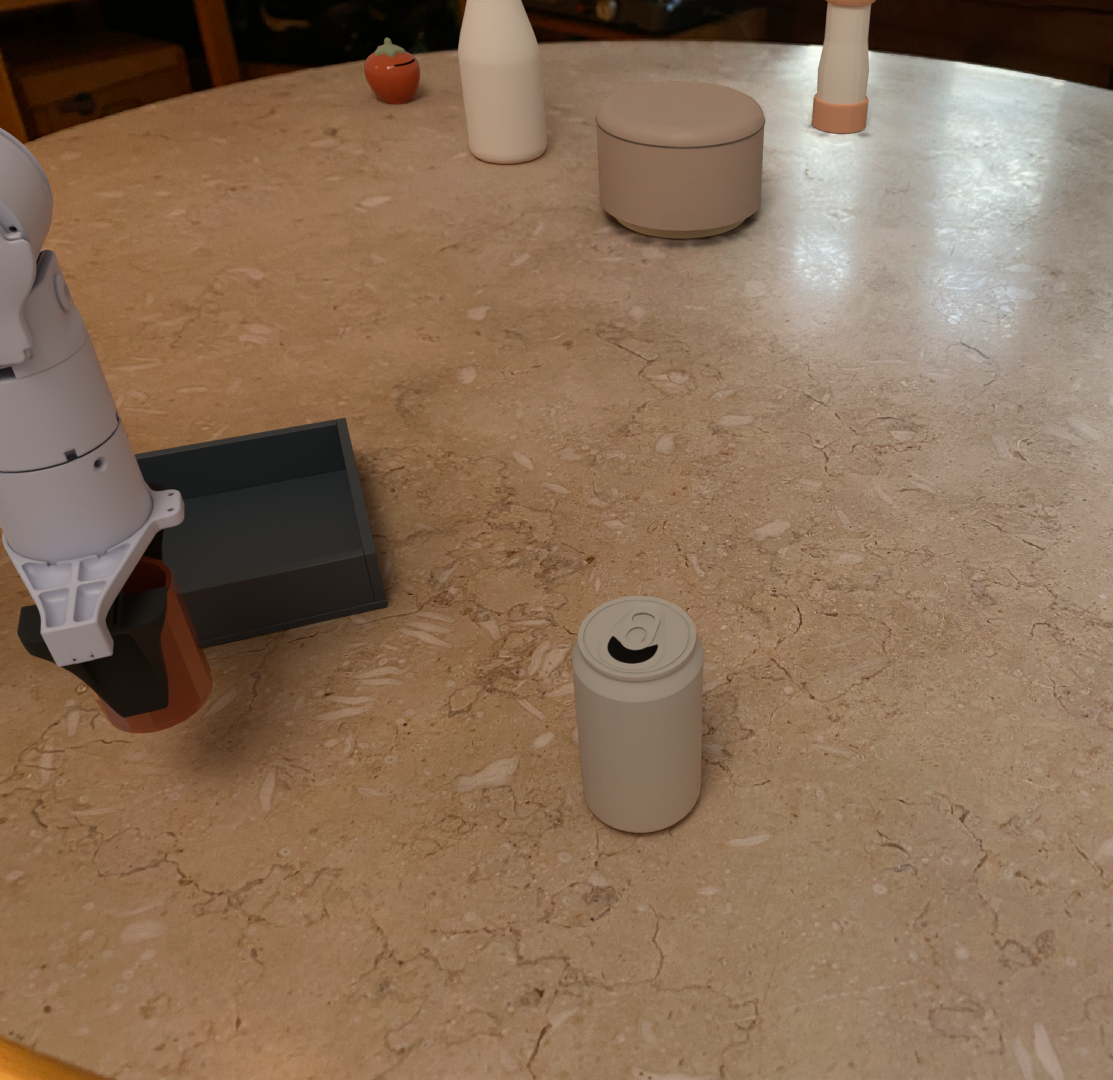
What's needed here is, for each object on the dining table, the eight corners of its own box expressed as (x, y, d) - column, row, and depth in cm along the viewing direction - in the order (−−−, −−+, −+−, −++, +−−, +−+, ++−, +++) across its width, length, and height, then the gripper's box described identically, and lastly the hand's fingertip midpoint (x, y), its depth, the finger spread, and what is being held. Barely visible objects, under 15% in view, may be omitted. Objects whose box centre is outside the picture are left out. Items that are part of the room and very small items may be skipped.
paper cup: (101, 746, 52) (47, 640, 47) (107, 672, 55) (57, 567, 51) (214, 719, 53) (172, 613, 49) (212, 649, 57) (172, 545, 52)
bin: (110, 669, 66) (84, 613, 63) (120, 513, 77) (98, 460, 75) (388, 606, 70) (375, 552, 68) (357, 468, 82) (345, 417, 79)
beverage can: (567, 827, 57) (549, 667, 50) (605, 736, 62) (594, 578, 55) (683, 853, 56) (684, 694, 49) (713, 759, 61) (718, 601, 54)
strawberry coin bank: (397, 111, 146) (387, 48, 141) (357, 101, 149) (346, 39, 144) (435, 97, 151) (427, 36, 146) (396, 88, 154) (386, 27, 149)
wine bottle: (527, 170, 130) (501, -120, 112) (456, 160, 133) (418, -126, 114) (560, 145, 138) (540, -132, 119) (492, 135, 140) (462, -138, 121)
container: (789, 228, 119) (796, 118, 111) (636, 255, 112) (633, 141, 105) (718, 172, 131) (720, 70, 124) (577, 194, 125) (570, 88, 118)
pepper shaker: (801, 125, 145) (811, -34, 133) (830, 112, 150) (843, -43, 138) (847, 137, 142) (862, -25, 130) (876, 123, 146) (893, -35, 134)
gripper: (145, 516, 40) (239, 755, 49) (153, 336, 51) (229, 559, 59) (-72, 556, 38) (65, 798, 47) (-18, 360, 49) (86, 587, 57)
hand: (146, 667), depth 53 cm, fingers closed on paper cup, 5 cm apart
